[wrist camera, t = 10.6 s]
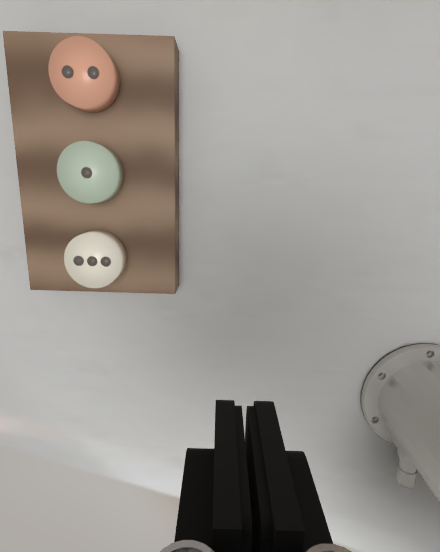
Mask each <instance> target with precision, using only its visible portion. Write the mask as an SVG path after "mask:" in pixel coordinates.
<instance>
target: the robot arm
mask: <svg viewBox="0 0 440 552" xmlns="http://www.w3.org/2000/svg"><path fill="white" fill-rule="evenodd" d="M361 405H362V410H363V413H364V416H365V418H366V420H367V422H368V423H369V425H370V426H371V428H372V429H373V430H374V431H375V432H376V434H377V435H379V436H380V437H381V438H383V439H384V440H386V441H388V442H390V443H392V444H395V445H396V447H397V448H398V450H397V455H398V457H399V458H400V460H399V463H398V467H397V472H396V480H397V482H398V483H399V484H400V485H402V486H404V487H407V488H412V487H414V484H415V479H416V474H417V470H418V472H419V473H420V475H421V476H422V477H423V479H424V480H425V482H426V483H427V485H428V486H429V488H430V489H431V491H432V492H433V493H434V495H435V496H436V498H437V499H438V501H439V502H440V346H439V345H435V344H416V345H410V346H407V347H403V348H400V349H398V350H396V351H394V352H392V353H390V354H389V355H387V356H386V357H384V358H383V359H382V360H381V361H380V362H379V363H378V364H376V365H375V366H374V368H373V369H372V370H371V372H370V373H369V375H368V376H367V379H366V381H365V383H364V386H363V390H362V394H361ZM160 552H351V551H349V550H348V549H346V548H344V547H341V546H338V545H335V544H333V542H332V539H331V535H330V532H329V529H328V526H327V523H326V519H325V516H324V513H323V510H322V507H321V503H320V500H319V497H318V494H317V491H316V487H315V484H314V481H313V478H312V475H311V471H310V468H309V465H308V462H307V459H306V456H305V454H304V452H303V451H285V447H284V443H283V439H282V435H281V431H280V426H279V422H278V418H277V414H276V410H275V406H274V402H271V401H254V406H247V413H246V431H245V437H244V427H243V416H242V406H235V403H234V400H216V413H215V448H214V449H198V448H187V451H186V458H185V466H184V473H183V481H182V488H181V496H180V504H179V511H178V519H177V526H176V534H175V542H174V543H172V544H170V545H168V546H167V547H165V548H164V549H162V550H161V551H160Z"/></svg>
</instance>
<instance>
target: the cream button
mask: <svg viewBox="0 0 440 552" xmlns="http://www.w3.org/2000/svg"><path fill="white" fill-rule="evenodd" d="M126 260H127V257H126V251H125V248H124V246H123V244H122V243H121V241H120V240H119V239H118V238H117V237H116V236H114V235H113V234H111V233H109V232H106V231H102V230H93V231H89V232H86V233H83V234H80V235H78V236H76V237H75V238H73V239H72V240H71V241H70V242H69V244H68V245H67V247H66V249H65V253H64V264H65V267H66V270H67V272H68V274H69V275H70V276H71V278H72V279H73V280H74V281H76V282H77V283H79V284H80V285H82V286H85V287H88V288H102V287H105V286H107V285H109V284H110V283H112V282H113V281H114V280H115V279H116V278H117V277H119V276H120V275H121V273H122V272H123V270H124V268H125V266H126Z"/></svg>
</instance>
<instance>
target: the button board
mask: <svg viewBox="0 0 440 552" xmlns="http://www.w3.org/2000/svg"><path fill="white" fill-rule="evenodd" d="M73 36H83V37H87V38H89V39H92V40H93V41H95V42H96V43H98V44H99V45H100V46H101V47H102V48H103V49H104V50H105V51H106V53H107V54H108V55H109V56H110V57H111V59H112V60H113V61H114V63H115V65H116V67H117V69H118V72H119V76H120V88H119V92H118V95H117V97H116V99H115V101H114V102H113V103H112V104H111V105H110V106H109V107H108V108H106V109H105V110H103V111H100V112H85V111H82V110H80V109H78V108H76V107H74V106H73V105H71V104H69V103H67V102H66V101H64V100H63V99H62V98H61V97H60V96H59V95H58V94H57V93H56V91H55V90H54V88H53V86H52V84H51V81H50V77H49V71H48V66H49V59H50V56H51V53H52V51H53V50H54V48H55V47H56V46H57V45H58V44H59V43H60V42H61V41H62V40H64V39H66V38H69V37H73ZM3 38H4V48H5V57H6V66H7V75H8V85H9V94H10V103H11V113H12V122H13V131H14V141H15V150H16V159H17V168H18V178H19V187H20V196H21V206H22V215H23V224H24V234H25V243H26V252H27V261H28V271H29V280H30V289H31V290H60V291H95V292H130V293H166V294H175V293H176V290H177V288H178V286H179V50H178V47H177V43H176V40H175V37H174V36H147V35H115V34H83V33H50V32H18V31H3ZM78 141H90V142H94V143H97V144H100V145H102V146H105V147H107V148H109V149H110V150H111V151H112V152H114V153H115V155H116V156H117V157H118V159H119V160H120V162H121V165H122V168H123V183H122V186H121V188H120V190H119V192H118V193H117V194H116V195H115V196H114V197H113V198H111V199H110V200H108V201H105V202H99V203H82V202H79V201H77V200H75V199H73V198H72V197H70V196H69V195H68V194H67V193H66V192H65V191H64V190H63V188H62V186H61V185H60V182H59V180H58V176H57V162H58V159H59V156H60V155H61V153H62V152H63V150H64V149H65V148H66V147H67V146H69V145H70V144H72V143H75V142H78ZM93 230H102V231H106V232H109V233H111V234H113V235H114V236H116V237H117V238H118V239H119V240H120V241H121V243H122V244H123V246H124V248H125V251H126V257H127V260H126V266H125V268H124V270H123V272H122V273H121V275H120V276H119V277H117V278H116V279H115V280H114V281H113V282H112V283H110V284H109V285H107V286H105V287H102V288H88V287H85V286H82V285H80V284H79V283H77V282H76V281H74V280H73V279H72V278H71V276H70V275H69V274H68V272H67V270H66V267H65V264H64V253H65V249H66V247H67V245H68V244H69V242H70V241H71V240H72V239H73V238H75V237H76V236H78V235H80V234H83V233H86V232H89V231H93Z"/></svg>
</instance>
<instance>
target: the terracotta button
mask: <svg viewBox="0 0 440 552" xmlns="http://www.w3.org/2000/svg"><path fill="white" fill-rule="evenodd" d="M48 71H49V77H50V81H51V84H52V86H53V88H54V90H55V91H56V93H57V94H58V95H59V96H60V97H61V98H62V99H63V100H64V101H66V102H67V103H69V104H71V105H73V106H74V107H76V108H78V109H80V110H82V111H85V112H100V111H103V110H105V109H106V108H108V107H109V106H110V105H111V104H112V103H113V102H114V101H115V99H116V97H117V95H118V92H119V88H120V76H119V72H118V69H117V67H116V65H115V63H114V61H113V60H112V59H111V57H110V56H109V55H108V54H107V53H106V51H105V50H104V49H103V48H102V47H101V46H100V45H99V44H98V43H96V42H95V41H93V40H92V39H89V38H87V37H83V36H73V37H69V38H66V39H64V40H62V41H61V42H60V43H59V44H58V45H57V46H56V47H55V48H54V50H53V51H52V53H51V56H50V59H49V66H48Z"/></svg>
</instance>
